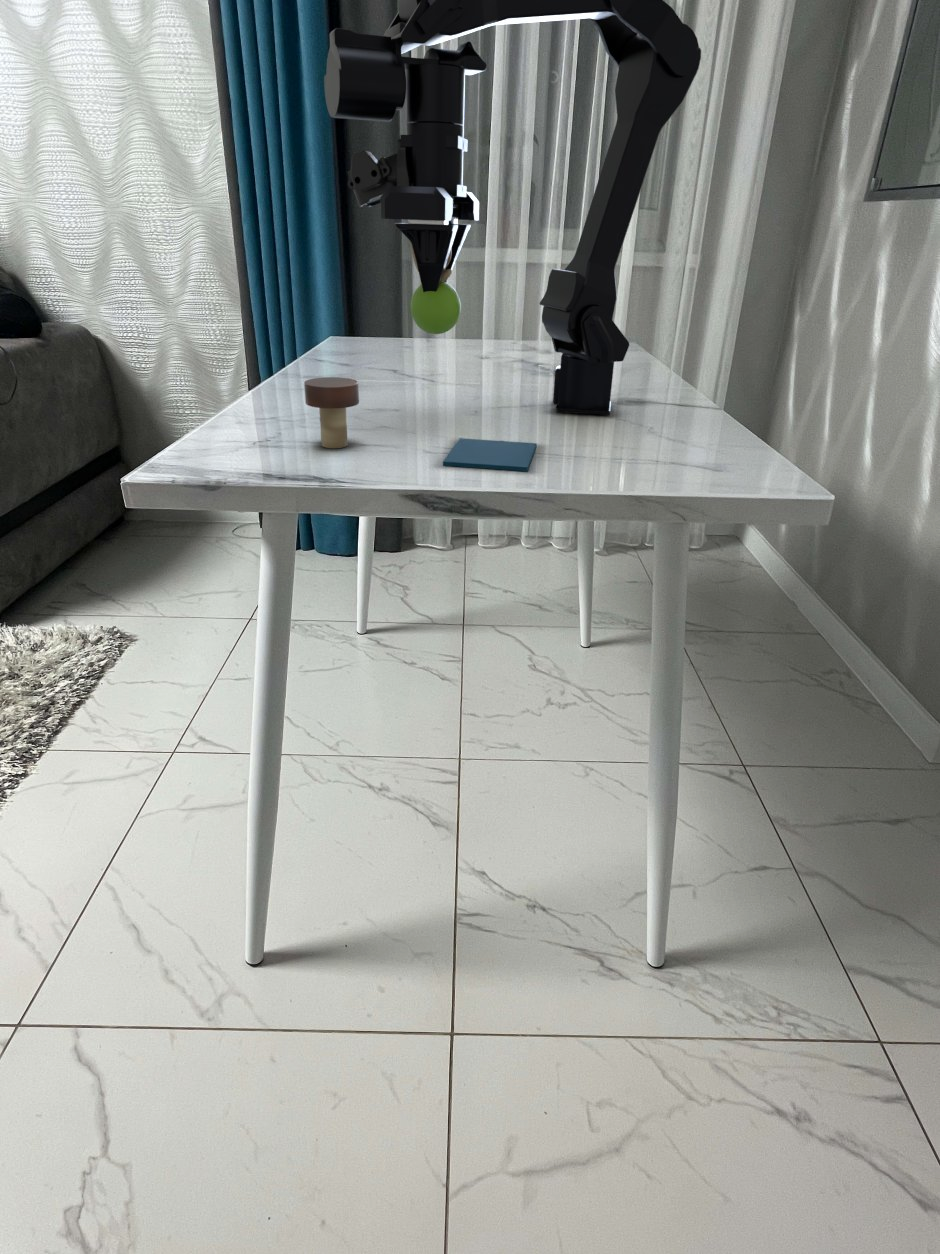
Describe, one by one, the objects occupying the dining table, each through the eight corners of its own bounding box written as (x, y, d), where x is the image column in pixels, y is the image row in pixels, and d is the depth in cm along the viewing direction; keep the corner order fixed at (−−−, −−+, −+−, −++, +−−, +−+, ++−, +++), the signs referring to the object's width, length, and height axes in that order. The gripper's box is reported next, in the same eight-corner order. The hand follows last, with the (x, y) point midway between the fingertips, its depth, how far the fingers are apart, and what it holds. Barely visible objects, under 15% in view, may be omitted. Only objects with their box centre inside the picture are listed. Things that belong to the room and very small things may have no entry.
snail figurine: (431, 328, 92) (427, 210, 87) (471, 333, 88) (470, 209, 83) (395, 333, 89) (388, 210, 83) (435, 338, 85) (431, 210, 79)
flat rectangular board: (536, 447, 83) (536, 443, 83) (527, 471, 75) (527, 467, 75) (459, 441, 84) (459, 438, 84) (442, 465, 76) (442, 461, 76)
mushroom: (366, 440, 84) (364, 378, 81) (352, 453, 79) (349, 388, 76) (318, 437, 84) (314, 375, 81) (301, 450, 80) (296, 385, 77)
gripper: (382, 132, 89) (385, 286, 96) (323, 113, 72) (332, 300, 80) (482, 134, 87) (477, 291, 94) (445, 115, 71) (442, 306, 78)
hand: (433, 296), depth 87 cm, fingers closed on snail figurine, 3 cm apart
